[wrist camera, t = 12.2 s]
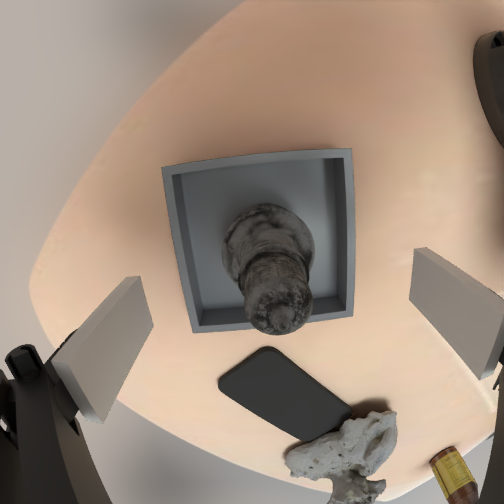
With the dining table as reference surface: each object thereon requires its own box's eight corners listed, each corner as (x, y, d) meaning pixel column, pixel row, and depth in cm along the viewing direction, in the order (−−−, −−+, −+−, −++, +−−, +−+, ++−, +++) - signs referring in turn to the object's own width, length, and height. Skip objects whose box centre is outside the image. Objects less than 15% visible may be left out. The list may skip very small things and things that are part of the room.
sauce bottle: (444, 459, 37) (474, 526, 18) (423, 466, 36) (452, 538, 18) (461, 441, 35) (497, 510, 16) (441, 447, 34) (476, 523, 16)
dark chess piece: (216, 210, 21) (177, 274, 9) (295, 190, 20) (353, 232, 9) (237, 283, 23) (228, 397, 11) (311, 265, 22) (365, 366, 11)
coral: (340, 472, 34) (351, 521, 25) (270, 459, 32) (273, 520, 22) (421, 408, 30) (450, 461, 20) (358, 386, 27) (386, 457, 18)
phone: (269, 346, 24) (356, 414, 28) (269, 340, 25) (355, 409, 28) (212, 386, 26) (305, 443, 29) (213, 381, 27) (305, 438, 30)
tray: (173, 165, 20) (161, 167, 17) (338, 149, 20) (351, 148, 17) (198, 313, 24) (192, 333, 21) (342, 298, 24) (353, 316, 21)
